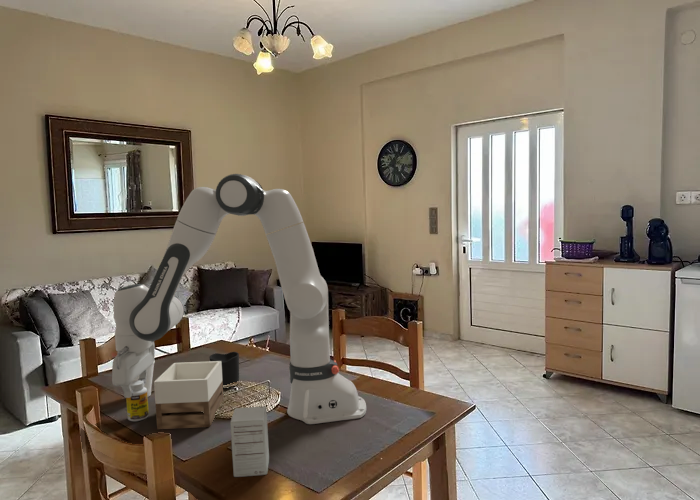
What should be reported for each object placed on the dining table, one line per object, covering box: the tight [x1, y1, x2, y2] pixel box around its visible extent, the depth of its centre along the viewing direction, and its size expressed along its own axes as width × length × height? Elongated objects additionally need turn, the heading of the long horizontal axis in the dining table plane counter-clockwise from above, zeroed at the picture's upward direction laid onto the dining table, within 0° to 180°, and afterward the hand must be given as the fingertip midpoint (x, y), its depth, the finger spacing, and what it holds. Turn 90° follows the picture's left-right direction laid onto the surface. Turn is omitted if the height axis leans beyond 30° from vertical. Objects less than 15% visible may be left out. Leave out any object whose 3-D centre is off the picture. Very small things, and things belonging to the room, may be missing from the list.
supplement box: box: [230, 405, 270, 478], centre depth 109 cm, size 7×7×13 cm
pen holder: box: [208, 351, 240, 385], centre depth 162 cm, size 9×9×10 cm
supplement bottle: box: [125, 381, 150, 422], centre depth 138 cm, size 6×6×10 cm
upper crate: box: [153, 360, 223, 405], centre depth 138 cm, size 14×16×6 cm
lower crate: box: [155, 381, 225, 430], centre depth 138 cm, size 14×16×7 cm
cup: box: [131, 359, 156, 398], centre depth 154 cm, size 10×10×11 cm
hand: (135, 390), depth 138 cm, fingers open, 8 cm apart
